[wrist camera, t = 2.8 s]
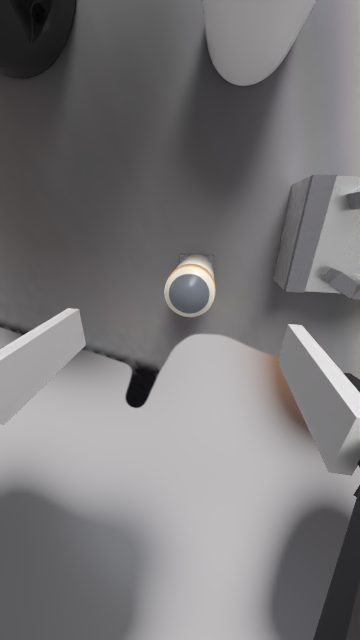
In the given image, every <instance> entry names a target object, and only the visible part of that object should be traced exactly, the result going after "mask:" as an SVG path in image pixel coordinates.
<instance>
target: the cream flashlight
mask: <svg viewBox="0 0 360 640" xmlns="http://www.w3.org/2000/svg"><path fill="white" fill-rule="evenodd" d="M213 262H214V256H207V255H199V254H193V255H182V254H180V263H179V266H178V267H177V268H176V269H175V270H174V271H173V272H172V273H171V275H170V276H169V277H168V279H167V282H166V285H165V289H164V295H165V299H166V302H167V304H168V306H169V307H170V308H171V309H172V310H173V311H174V312H175V313H177V314H179V315H181V316H185V317H195V316H199V315H201V314H203V313H205V312H206V311H207V310H208V309H209V308H210V307H211V305H212V303H213V301H214V297H215V293H216V287H215V281H214V268H213Z"/></svg>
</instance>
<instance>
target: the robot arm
mask: <svg viewBox="0 0 360 640" xmlns="http://www.w3.org/2000/svg"><path fill="white" fill-rule="evenodd" d="M74 9H75V0H0V73H1V74H4V75H7V76H10V77H14V78H28V77H32V76H35V75H38V74H39V73H41V72H43V71H44V70H46V69H47V68H48V67H49V66H50V65H51V64H52V63H53V62H54V61H55V60H56V59H57V57H58V56H59V54H60V53H61V51H62V49H63V47H64V45H65V43H66V40H67V38H68V35H69V32H70V29H71V25H72V21H73V15H74ZM85 345H86V343H85V338H84V333H83V328H82V322H81V317H80V312H79V309H70V308H68V309H66V310H64V311H63V312H61V313H59V314H58V315H56V316H54V317H53V318H51V319H49V320H48V321H46V322H44V323H43V324H41V325H39V326H38V327H36V328H34V329H33V330H31V331H29V332H28V333H26V334H24V335H23V336H21V337H19V338H18V339H16V340H15V341H13V342H12V343H10V344H8V345H6V346H5V347H2V348H1V349H0V424H3V425H4V424H5V423H6V422H7V421H8V420H9V419H10V418H11V417H13V415H15V413H17V412H18V411H19V410H20V409H21V408H22V407H23V406H24V405H25V404H26V403H27V402H28V401H29V400H30V399H31V398H32V397H33V396H34V395H35V394H36V393H37V392H38V391H39V390H40V389H41V388H42V387H43V386H44V385H45V384H46V383H47V382H48V381H49V380H50V379H51V378H53V376H55V375H56V374H57V373H58V372H59V371H60V370H61V369H62V368H63V367H64V366H65V365H66V364H67V363H68V362H69V361H70V360H71V359H72V358H73V357H74V356H75V355H76V354H77V353H78V352H79V351H80V350H81V349H82V348H83V347H84V346H85ZM278 364H279V366H280V368H281V370H282V372H283V375H284V377H285V379H286V381H287V383H288V385H289V388H290V390H291V392H292V394H293V396H294V398H295V400H296V403H297V405H298V407H299V409H300V411H301V413H302V416H303V418H304V420H305V422H306V424H307V426H308V429H309V431H310V433H311V435H312V437H313V439H314V441H315V443H316V446H317V448H318V450H319V452H320V454H321V456H322V459H323V461H324V463H325V465H326V467H327V470H328V472H331V473H338V474H345V475H352V474H353V472H354V471H355V469H356V467H357V466H358V465H359V467H360V380H359V379H358V378H356V377H355V376H353V375H352V374H349V373H343V372H342V371H341V370H340V369H339V368H338V367H337V366H336V364H335V363H334V362H333V361H332V360H331V359H330V357H329V356H328V355H327V354H326V353H325V352H324V350H323V349H322V348H321V347H320V346H319V345H318V343H317V342H316V341H315V340H314V339H313V338H312V336H311V335H310V334H309V333H308V332H307V331H306V330H305V328H304V327H303V326H302V325H293V324H288V326H287V330H286V334H285V337H284V341H283V345H282V349H281V353H280V357H279V361H278ZM354 496H356V497H357V499H356V502H355V505H354V509H353V512H352V515H351V519H350V522H349V525H348V528H347V532H346V535H345V538H344V541H343V545H342V548H341V551H340V554H339V558H338V561H337V564H336V568H335V571H334V574H333V577H332V580H331V584H330V587H329V590H328V593H327V597H326V600H325V603H324V607H323V610H322V613H321V616H320V619H319V623H318V626H317V629H316V632H315V636H314V639H313V640H360V486H359V487H358V489H357V490H356V492H355V494H354Z"/></svg>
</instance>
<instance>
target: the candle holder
mask: <svg viewBox="0 0 360 640" xmlns="http://www.w3.org/2000/svg"><path fill="white" fill-rule="evenodd" d="M316 2H317V0H202V7H203V15H204V24H205V32H206V40H207V46H208V50H209V54H210V57H211V60H212V63H213V65H214V67H215V68H216V70H217V71H218V73H219V74H220V75H221V76H222V77H223V78H224V79H225V80H226V81H228V82H230V83H232V84H235V85H239V86H248V85H253V84H256V83H258V82H260V81H262V80H264V79H265V78H267V77H268V76H269V75H271V74H272V73H273V72H274V71H275V70H276V69H277V68H278V66H279V65H280V64H281V63H282V61H283V60H284V59H285V57H286V56H287V54H288V52H289V51H290V49H291V47H292V45H293V44H294V42H295V40H296V38H297V37H298V35H299V33H300V31H301V29H302V27H303V26H304V24H305V22H306V20H307V18H308V17H309V15H310V13H311V11H312V9H313V7H314V6H315V4H316Z"/></svg>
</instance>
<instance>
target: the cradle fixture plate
mask: <svg viewBox="0 0 360 640" xmlns="http://www.w3.org/2000/svg"><path fill="white" fill-rule="evenodd" d="M273 280H274V281H275V282H276V283H277V284H278V285H279V286H280V287H281V288H282V289H283V290H284V291H285V292H300V293H305V291H308V292H327V293H341V294H343V295H345V296H346V297H348V298H350V299H356V300H360V176H337V175H312V176H310V177H308V178H306V179H303V180H301V181H299V182H297V183H295V184H293V185H292V189H291V194H290V199H289V204H288V209H287V214H286V219H285V223H284V228H283V233H282V238H281V243H280V248H279V253H278V257H277V262H276V267H275V272H274V277H273Z"/></svg>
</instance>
